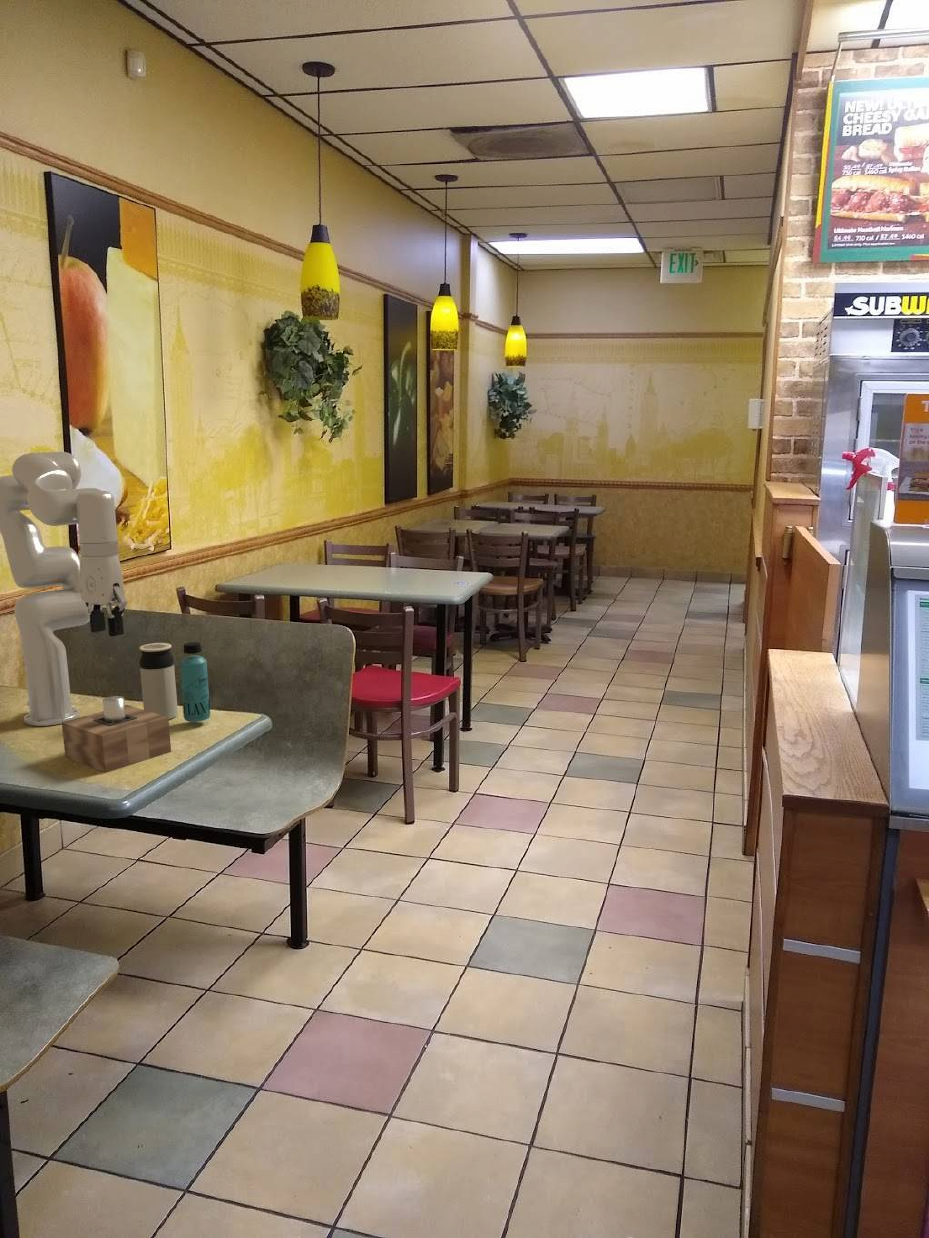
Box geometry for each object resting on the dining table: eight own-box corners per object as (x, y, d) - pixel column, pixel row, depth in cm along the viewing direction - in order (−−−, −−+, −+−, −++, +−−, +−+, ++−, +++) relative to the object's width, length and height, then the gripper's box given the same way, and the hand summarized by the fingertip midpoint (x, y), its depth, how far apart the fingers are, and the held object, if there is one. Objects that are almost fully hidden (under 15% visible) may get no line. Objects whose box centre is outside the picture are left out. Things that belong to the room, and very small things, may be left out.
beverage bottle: (179, 727, 235) (172, 646, 230) (190, 719, 241) (184, 639, 237) (205, 728, 234) (199, 646, 230) (215, 719, 240) (210, 640, 236)
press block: (65, 757, 215) (61, 721, 214) (129, 737, 228) (126, 703, 226) (106, 772, 206) (102, 735, 204) (171, 751, 218) (168, 716, 216)
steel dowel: (101, 733, 215) (98, 699, 214) (119, 728, 219) (116, 694, 217) (113, 737, 213) (109, 702, 211) (131, 731, 216) (128, 697, 214)
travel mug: (168, 722, 239) (162, 650, 235) (138, 721, 240) (132, 649, 237) (183, 712, 246) (178, 642, 243) (154, 711, 248) (148, 642, 244)
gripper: (61, 549, 210) (69, 631, 213) (106, 555, 199) (114, 641, 203) (93, 545, 215) (100, 625, 219) (139, 551, 205) (146, 635, 209)
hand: (107, 632), depth 211 cm, fingers open, 6 cm apart
